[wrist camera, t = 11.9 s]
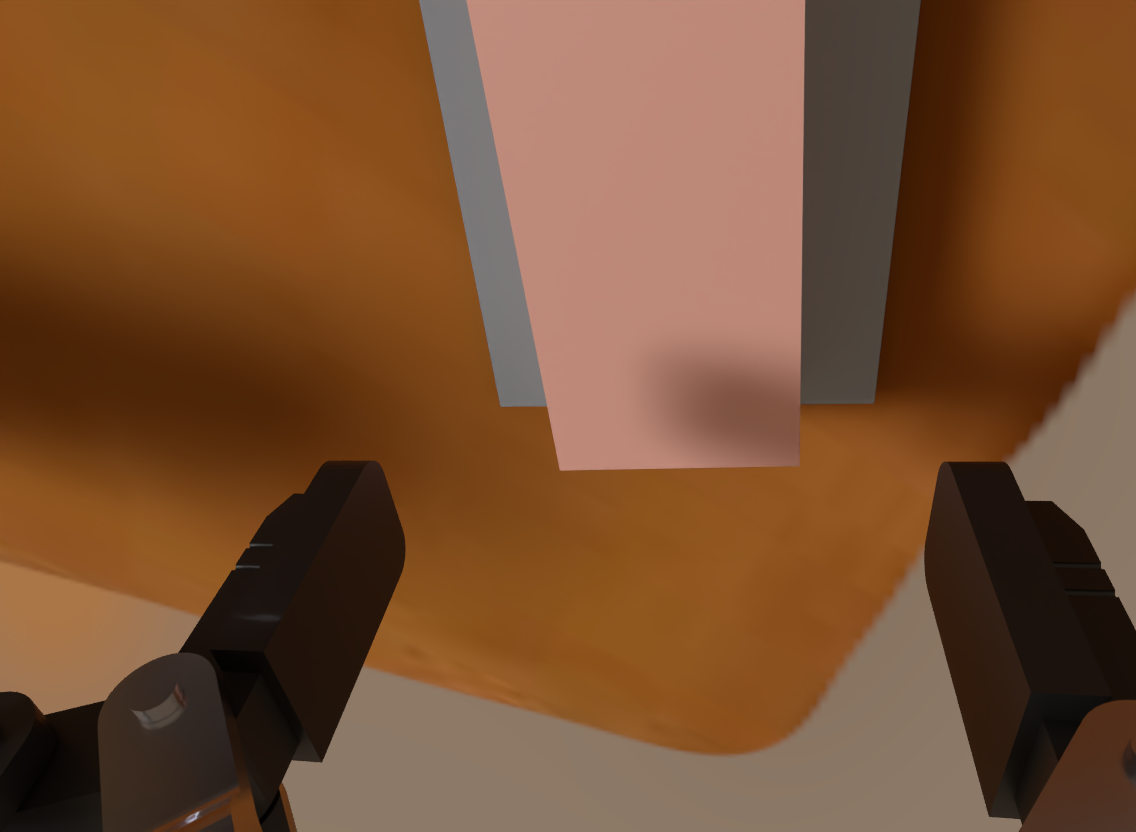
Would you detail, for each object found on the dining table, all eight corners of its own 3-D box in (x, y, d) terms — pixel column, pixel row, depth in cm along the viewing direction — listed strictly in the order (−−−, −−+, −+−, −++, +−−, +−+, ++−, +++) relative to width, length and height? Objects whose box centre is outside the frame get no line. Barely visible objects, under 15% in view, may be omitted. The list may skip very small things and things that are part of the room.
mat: (349, -410, 13) (335, -420, 12) (975, -550, 11) (986, -568, 10) (505, 393, 21) (500, 406, 21) (870, 389, 19) (874, 403, 19)
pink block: (448, -384, 12) (379, -438, 10) (793, -473, 11) (811, -558, 9) (580, 393, 20) (559, 470, 18) (790, 385, 19) (799, 466, 16)
